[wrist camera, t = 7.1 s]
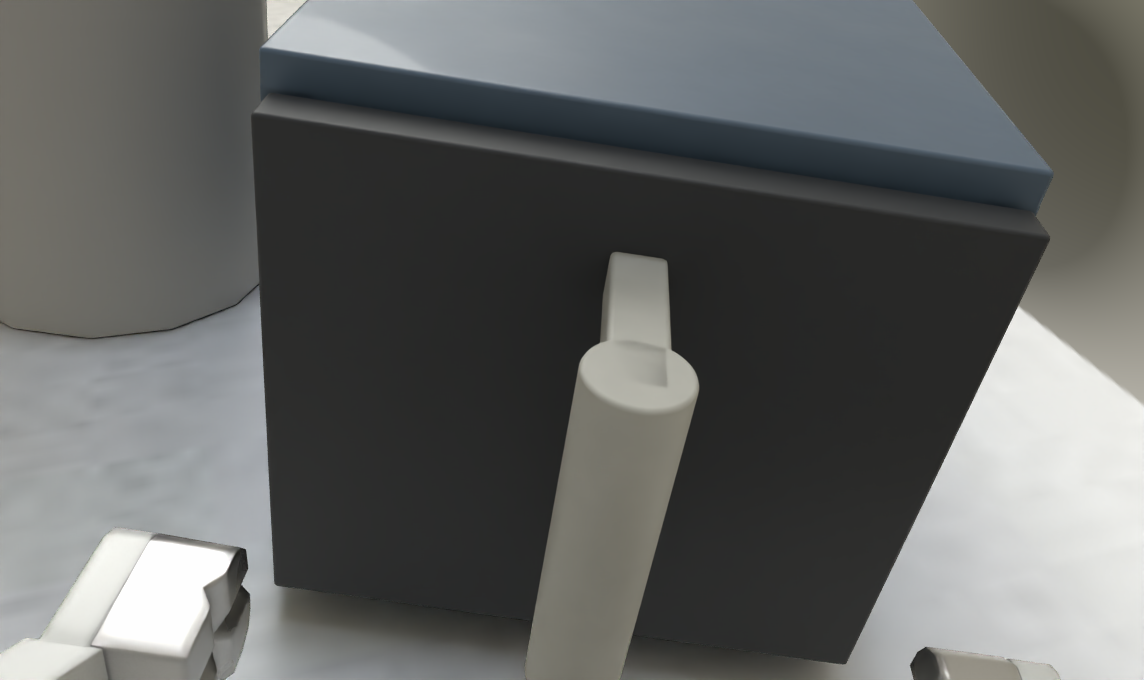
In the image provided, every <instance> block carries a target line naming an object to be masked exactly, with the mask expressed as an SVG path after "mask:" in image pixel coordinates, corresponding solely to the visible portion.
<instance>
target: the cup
mask: <svg viewBox="0 0 1144 680" xmlns="http://www.w3.org/2000/svg"><path fill="white" fill-rule="evenodd" d="M267 40H268V31H267V5H266V0H0V322H2V323H4V324H6V325H8V326H10V327H12V328H17V329H24V330H32V331H39V332H47V333H55V334H62V335H70V336H77V337H85V338H97V337H106V336H114V335H123V334H132V333H141V332H150V331H158V330H167V329H173V328H176V327H178V326H181V325H184V324H186V323H189V322H191V321H194V320H197V319H199V318H202V317H204V316H207V315H210V314H212V313H215V312H217V311H220V310H223V309H225V308H228V307H230V306H233V305H236V304H237V303H238V302H239V301H240V300H242V299H243V298H244V297H245V296H246V295H247V294H248V293H249V292H250V291H251V290H252V289H253V288H254V287H256V286H257V285H258V284H259V268H258V248H257V228H256V208H255V188H254V168H253V148H252V129H251V114H252V112H253V111H254V109H255V108H256V107H257V106H258V105H259V104H260V103H261V100H260V64H259V49H260V47H261V46H262V45H263V44H264V43H265V42H266V41H267Z"/></svg>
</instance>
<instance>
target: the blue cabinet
mask: <svg viewBox="0 0 1144 680" xmlns="http://www.w3.org/2000/svg"><path fill="white" fill-rule="evenodd" d="M259 64H260V100H261V101H262V100H263V99H264V98H265V97H266V96H267V95H268V94H269V93H277V94H284V95H290V96H296V97H303V98H309V99H316V100H322V101H328V102H335V103H341V104H348V105H354V106H360V107H367V108H373V109H380V110H386V111H393V112H399V113H405V114H412V115H418V116H425V117H431V118H437V119H444V120H450V121H457V122H463V123H469V124H476V125H482V126H489V127H495V128H501V129H508V130H514V131H521V132H527V133H533V134H540V135H546V136H553V137H559V138H566V139H572V140H578V141H585V142H591V143H598V144H604V145H610V146H617V147H623V148H630V149H636V150H642V151H649V152H655V153H662V154H668V155H674V156H681V157H687V158H694V159H700V160H706V161H713V162H719V163H726V164H732V165H739V166H745V167H751V168H758V169H764V170H771V171H777V172H783V173H790V174H796V175H803V176H809V177H815V178H822V179H828V180H835V181H841V182H847V183H854V184H860V185H867V186H873V187H879V188H886V189H892V190H899V191H905V192H912V193H918V194H924V195H931V196H937V197H944V198H950V199H956V200H963V201H969V202H976V203H982V204H988V205H995V206H1001V207H1008V208H1014V209H1020V210H1027V211H1031V212H1033V214H1034V215H1035V216H1036V214H1037V212H1038V210H1039V208H1040V204H1041V202H1042V200H1043V198H1044V196H1045V193H1046V191H1047V189H1048V187H1049V185H1050V182H1051V181H1052V178H1053V171H1052V169H1051V168H1050V167H1049V166H1048V165H1047V163H1046V162H1045V161H1044V160H1043V159H1042V157H1041V156H1040V155H1039V154H1038V152H1037V151H1036V150H1035V149H1034V148H1033V147H1032V145H1031V144H1030V143H1029V141H1028V140H1027V139H1026V138H1025V137H1024V135H1023V134H1022V133H1021V132H1020V131H1019V129H1018V128H1017V127H1016V126H1015V125H1014V123H1013V122H1012V121H1011V120H1010V118H1009V117H1008V116H1007V115H1006V114H1005V112H1004V111H1003V110H1002V109H1001V107H1000V106H999V105H998V104H997V103H996V101H995V100H994V99H993V98H992V96H991V95H990V94H989V93H988V92H987V90H986V89H985V88H984V87H983V86H982V84H981V83H980V82H979V81H978V80H977V78H976V77H975V76H974V75H973V73H972V72H971V71H970V70H969V68H968V67H967V66H966V65H965V64H964V62H963V61H962V60H961V59H960V58H959V56H958V55H957V54H956V53H955V51H954V50H953V49H952V48H951V47H950V46H949V44H948V43H947V42H946V40H945V39H944V38H943V37H942V36H941V34H940V33H939V32H938V31H937V30H936V28H935V27H934V26H933V25H932V23H931V22H930V21H929V20H928V19H927V17H926V16H925V15H924V14H923V13H922V11H921V10H920V9H919V8H918V6H917V5H916V4H915V3H914V2H913V0H307V1H306V2H305V3H304V4H303V5H302V6H301V7H300V8H299V9H298V10H297V11H296V12H295V13H294V14H293V15H292V16H291V17H290V18H289V19H288V20H287V21H286V22H285V23H284V24H283V25H282V26H281V27H280V28H279V29H278V30H277V31H276V32H275V33H274V34H273V35H272V36H271V37H270V38H269V39H268V40H267V41H266V42H265V43H264V44H263V45H262V46H261V47H260V49H259Z"/></svg>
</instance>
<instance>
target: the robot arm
mask: <svg viewBox="0 0 1144 680" xmlns="http://www.w3.org/2000/svg"><path fill="white" fill-rule="evenodd" d="M247 570H248V563H247V554H246V549H243V548H240V547H234V546H228V545H223V544H217V543H211V542H205V541H200V540H194V539H188V538H182V537H176V536H171V535H165V534H159V533H151V532H145V531H139V530H133V529H126V528H120V527H115V528H113V529H112V530H111V531H110V532H109V533H107V534H106V535H105V536H104V537H103V538H102V540H101V541H100V543H99V544H98V546H97V548H96V549H95V551H94V552H93V554H92V556H91V557H90V559H89V560H88V562H87V564H86V565H85V567H84V568H83V570H82V571H81V573H80V575H79V576H78V578H77V579H76V581H75V583H74V584H73V586H72V587H71V589H70V591H69V592H68V594H67V595H66V597H65V599H64V600H63V602H62V603H61V605H60V607H59V608H58V610H57V611H56V613H55V614H54V616H53V618H52V619H51V621H50V622H49V624H48V626H47V627H46V629H45V630H44V632H43V634H42V635H41V637H40V638H39V639H33V638H25V639H23V640H21V641H20V642H18V643H16V644H15V645H13V646H11V647H10V648H8V649H6V650H5V651H3V652H1V653H0V680H224V679H226V678H227V677H229V676H230V675H231V674H233V673H234V671H235V669H236V666H237V664H238V661H239V658H240V656H241V653H242V651H243V647H244V643H245V639H246V635H247V631H248V627H249V618H250V594H249V593H248V592H247V590H246V589H245V588H244V587H243V586H242V585H241V584H242V582H243V579H244V577H245V575H246V572H247ZM910 667H911V671H912V675H913V679H914V680H1061V679H1060V676H1059V674H1058V672H1057V671H1056V670H1055V669H1054V668H1053V667H1052V666H1051V665H1049V664H1042V663H1035V662H1028V661H1021V660H1014V659H1005V658H1003V657H998V656H991V655H983V654H976V653H968V652H961V651H953V650H946V649H938V648H931V647H925V648H923V649H922V650H920V651H918V652H917V654H916V656H915V657H914V659H913V661H912V663H911V664H910Z"/></svg>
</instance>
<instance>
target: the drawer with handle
mask: <svg viewBox="0 0 1144 680" xmlns="http://www.w3.org/2000/svg"><path fill="white" fill-rule="evenodd" d="M251 129H252V148H253V168H254V188H255V208H256V228H257V248H258V268H259V287H260V307H261V327H262V347H263V367H264V387H265V407H266V426H267V446H268V466H269V486H270V506H271V526H272V546H273V565H274V583H275V585H277V586H285V587H292V588H299V589H306V590H313V591H320V592H328V593H335V594H342V595H349V596H356V597H363V598H370V599H378V600H385V601H392V602H399V603H406V604H413V605H421V606H428V607H435V608H442V609H449V610H456V611H464V612H471V613H478V614H485V615H492V616H499V617H506V618H514V619H521V620H528V621H533V623H532V628H531V634H530V640H529V645H528V651H527V656H526V662H525V677H526V680H620V678H621V674H622V671H623V667H624V663H625V660H626V656H627V652H628V649H629V645H630V642H631V638H632V635H635V636H642V637H650V638H657V639H664V640H671V641H678V642H685V643H693V644H700V645H707V646H714V647H721V648H728V649H735V650H743V651H750V652H757V653H764V654H771V655H778V656H786V657H793V658H800V659H807V660H814V661H821V662H828V663H836V664H846V663H847V661H848V659H849V657H850V655H851V652H852V650H853V648H854V646H855V644H856V642H857V640H858V638H859V636H860V634H861V632H862V630H863V628H864V625H865V623H866V621H867V619H868V617H869V615H870V613H871V611H872V609H873V607H874V605H875V603H876V600H877V598H878V596H879V594H880V592H881V590H882V588H883V586H884V584H885V582H886V580H887V578H888V576H889V573H890V571H891V569H892V567H893V565H894V563H895V561H896V559H897V557H898V555H899V553H900V551H901V548H902V546H903V544H904V542H905V540H906V538H907V536H908V534H909V532H910V530H911V528H912V526H913V524H914V521H915V519H916V517H917V515H918V513H919V511H920V509H921V507H922V505H923V503H924V501H925V499H926V497H927V494H928V492H929V490H930V488H931V486H932V484H933V482H934V480H935V478H936V476H937V474H938V472H939V469H940V467H941V465H942V463H943V461H944V459H945V457H946V455H947V453H948V451H949V449H950V447H951V445H952V442H953V440H954V438H955V436H956V434H957V432H958V430H959V428H960V426H961V424H962V422H963V420H964V418H965V415H966V413H967V411H968V409H969V407H970V405H971V403H972V401H973V399H974V397H975V395H976V393H977V390H978V388H979V386H980V384H981V382H982V380H983V378H984V376H985V374H986V372H987V370H988V368H989V366H990V363H991V361H992V359H993V357H994V355H995V353H996V351H997V349H998V347H999V345H1000V343H1001V341H1002V339H1003V336H1004V334H1005V332H1006V330H1007V328H1008V326H1009V324H1010V322H1011V320H1012V318H1013V316H1014V314H1015V311H1016V309H1017V307H1018V305H1019V303H1020V301H1021V299H1022V297H1023V295H1024V293H1025V291H1026V289H1027V286H1028V284H1029V282H1030V280H1031V278H1032V276H1033V274H1034V271H1035V270H1036V268H1037V266H1038V264H1039V262H1040V259H1041V257H1042V255H1043V253H1044V251H1045V249H1046V247H1047V245H1048V243H1049V241H1050V236H1049V234H1048V233H1047V232H1046V230H1045V229H1044V227H1043V226H1042V225H1041V224H1040V222H1039V221H1038V219H1037V218H1036V216H1035V215H1034V214H1033V212H1031V211H1027V210H1020V209H1014V208H1008V207H1001V206H995V205H988V204H982V203H976V202H969V201H963V200H956V199H950V198H944V197H937V196H931V195H924V194H918V193H912V192H905V191H899V190H892V189H886V188H879V187H873V186H867V185H860V184H854V183H847V182H841V181H835V180H828V179H822V178H815V177H809V176H803V175H796V174H790V173H783V172H777V171H771V170H764V169H758V168H751V167H745V166H739V165H732V164H726V163H719V162H713V161H706V160H700V159H694V158H687V157H681V156H674V155H668V154H662V153H655V152H649V151H642V150H636V149H630V148H623V147H617V146H610V145H604V144H598V143H591V142H585V141H578V140H572V139H566V138H559V137H553V136H546V135H540V134H533V133H527V132H521V131H514V130H508V129H501V128H495V127H489V126H482V125H476V124H469V123H463V122H457V121H450V120H444V119H437V118H431V117H425V116H418V115H412V114H405V113H399V112H393V111H386V110H380V109H373V108H367V107H360V106H354V105H348V104H341V103H335V102H328V101H322V100H316V99H309V98H303V97H296V96H290V95H284V94H277V93H269V94H268V95H267V96H266V97H265V98H264V99H263V100H262V101H261V103H260V104H259V105H258V106H257V107H256V108H255V109H254V111H253V112H252V114H251Z"/></svg>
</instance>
